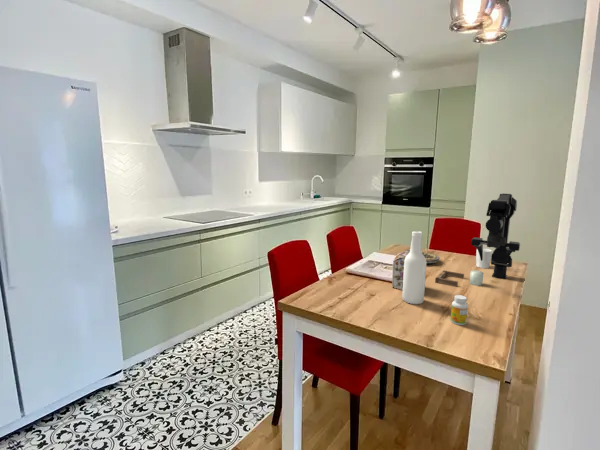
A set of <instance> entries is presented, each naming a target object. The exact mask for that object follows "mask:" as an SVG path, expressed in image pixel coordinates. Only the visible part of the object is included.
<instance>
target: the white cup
mask: <svg viewBox="0 0 600 450" xmlns="http://www.w3.org/2000/svg"><path fill="white" fill-rule="evenodd" d="M492 253H493V250H492V249H490V248H484V247H483V259H482V261H481V258H480V255H479V252H478V249H477V248H476V253H475V255H476V256H475V258H476V259H475V263H476V264H475V266H476V267H478V268H479V269H480V268H481V269H489V268H490V264H491V256H492Z"/></svg>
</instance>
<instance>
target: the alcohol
mask: <svg viewBox="0 0 600 450" xmlns="http://www.w3.org/2000/svg"><path fill="white" fill-rule="evenodd" d="M422 237H423V232H422V231H420V230H414V231H412V232H411V242H410V247H409V248H410V249H409V250H410V252H409V254H408V255H407V256H406V257H405V260H404V275H403V290H402V292H401V293H402V295H401V298H402V300H403V302H404V303H406V302H407V303H406V304H409V303H410V304H409V305H421V304H422V303H424V301H425V288H426V279H425V277H427V276H426V275H427V265H426V258H425V257H424V255H423V254H422V252H423V242H422V241H423V240H422V239H423V238H422Z"/></svg>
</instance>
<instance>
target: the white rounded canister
mask: <svg viewBox="0 0 600 450" xmlns="http://www.w3.org/2000/svg"><path fill="white" fill-rule="evenodd" d="M469 273H470V275H469V284H470V285H471V286H475V287H481V286H483V283H484V273H485V272H484V271H480V270H476V269H474V270H471V271H470V272H469Z"/></svg>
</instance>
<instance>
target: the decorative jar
mask: <svg viewBox="0 0 600 450" xmlns="http://www.w3.org/2000/svg"><path fill="white" fill-rule="evenodd" d="M409 252H410V249H406V250H405V251H404V252H399V253H397V254H396V255H395V257H394V259H393V260H392V261H393V262H392V277H391V288H392V287H394V288H393V289H396V288H397V289H396V290H400V291H403V275H404V260H405V257H406V256H407V255H408V254H409ZM426 263H427V260H426ZM426 277H427V276H426ZM426 277H425V280H426Z"/></svg>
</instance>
